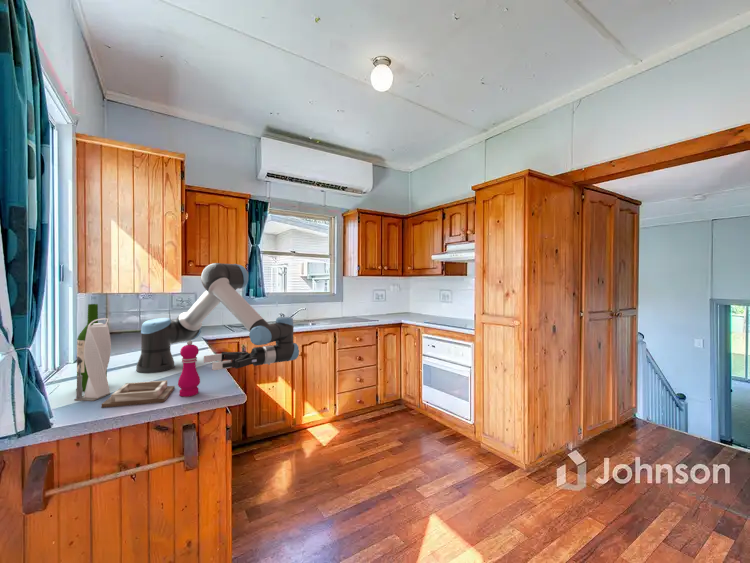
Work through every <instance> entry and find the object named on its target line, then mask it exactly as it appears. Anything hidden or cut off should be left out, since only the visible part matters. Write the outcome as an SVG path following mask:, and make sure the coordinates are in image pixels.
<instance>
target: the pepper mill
mask: <svg viewBox="0 0 750 563" xmlns="http://www.w3.org/2000/svg"><path fill="white" fill-rule="evenodd" d="M179 352H180V353H179V354H180V357H182V358H181V363H182V371H181V373H180V376H179V378H178V381H177V386H178V387H179V388H180V390H179V392H178V394H179V397H183V398H185V397H193V396H196V395H198V394H199V390H200V389H199V387H198V386H199V385H200V384H201V377H200V375H199V373H198V371H197V367H196V366H197V365H196V363H197V361H198V357H197V356H198V354H199V353H200V350H199V348H198V346H197V345H195V344H193V340H189V341H186V345H184V346H182V347H181V349H180V351H179Z"/></svg>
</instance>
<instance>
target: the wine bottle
mask: <svg viewBox="0 0 750 563" xmlns="http://www.w3.org/2000/svg"><path fill="white" fill-rule="evenodd" d="M96 319H99V305H98V303H88V304H87V323H86V325H85V327H84V328H83V329H82V331H80V333H79V334H78V337H77V338H76V339H77V340H76V341H77V342H76V343H77V344H76V377H77V376H78V369H79V364H80V368H81V375H82V388H83V391H82V392H85V390H86V385H87V381H88V374H87V370H86V365H85V359H84V345H85V338H86V333H87V328H88V325H89V324H90V323H91V322H92V321H94V320H96ZM94 323H99V320H97V321H95V322H93V323H92V324H91V325H93V324H94ZM91 325H90V326H91ZM106 377H107V378H108V369H107V370H106Z"/></svg>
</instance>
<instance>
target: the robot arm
mask: <svg viewBox="0 0 750 563" xmlns="http://www.w3.org/2000/svg"><path fill="white" fill-rule="evenodd" d="M200 279H201V284H202V286H203V288H204V289H205V291H203V293H202V294H201V295H200V297H198V299H197V300H196V301H195V302H194V303H193V304H192V305H191V307H190V308H189V309H187V311H184V312H181V313H180V314H179V315H178V316H177V317H176V318H175V319H171V318H169V317H158V318H152V319H148V320H146V321H144V322H143V323H142V324H141V329H140V335H141V336H140V337H141V339H140V344H141V345H140V346H141V347H140V352H141V353H140V356H139V359H138V361H137V364H136V372H138V373H147V374H149V373H160V372H164V371H169V370H171V369H174V368H175V360H174V357H173V355H172V351H171V345H173V344H177V343H182V342H188V341H189V340H190V341H193V340H196V339H197V338H198V337H199V336H200V335H201V333H202V328H203V326H202V325H203V323H202V322H203V321H204V320H206V318H208V316H209V315H210V314H211V312H212V311H213V310H214V309H215V308H217V306H218V305H219V304H220V303H221V304H223V306H224V307H225V308H226V309H227V310H228V311H229V312H230V313H231V314H232V315H233V316H234V317H235V318H236V319H237V320H238V321H239V323H241V325H242V326H244V328H245V329H246V330H247V331H248V332H249V334H248V335H249V337H248V338H250V342H251V343H252V344H253V345H255V347H253V348H251V352H248V351H244V350H243V351H228V352H227V351H222V352H221V353H216V354H209V355H207V354H206V355H203V363H204V364H205V363H207V364H208V363H211V366H212V367H211V368H212V369H211V370H212V371H216V370H217V371H218V370H224V369H231V368H232V369H236V370H237V369H241V368H244V367H247V366H250V365H253V366H254V367H256V366H262V365H268V366H270V365H271V364H275V363H281V362H283V363H284V362H290V361H294V360H297V359H298V358H299V355H300V349H299V345H298V344H297V343H296V342H294V327H295V326H294V318H293V317H290V316H279V317H276V319H275V322H274V323H268V321H267V320H265V318H263V316H262V315H261V314H259V313H258V312H257V311H256V310H255V308H254V307H252V305H251V304H249V303H248V301H247V300H246V299H245V298H244V297H243V296H242V295H241V294H240V293H239V292H238V291H237V290H238V289H239V290H240V289H243V288H245V287H246V286H247V285H248V282H249V273H248V270H247V269H246V268H245V267H244V266H243V265H241V264H237V263H220V262H214V263H211V264H208V265H206V266H205V267H204V268H203V270H202V272H201V275H200ZM274 342H275V345H267V344H270V343H274ZM264 345H265V346H264ZM256 346H257V347H256Z"/></svg>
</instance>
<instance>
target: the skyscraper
mask: <svg viewBox="0 0 750 563" xmlns="http://www.w3.org/2000/svg"><path fill="white" fill-rule="evenodd" d="M97 320H98V321H102V320H106V321H105V323H103V322H98V323H94V324H93V325H91V324H92V323H93V322H95V321H97ZM109 320H110V319H109V318H107V317H101V318H98V319H96V320H94V321H92V322H91V323H90V324H89V325H88V328H87V333H86V338H85V345H84V359H85V365H86V370H87V374H88V381H87V385H86V390H85V391H83V388H82V375H81V368H80V364H79V369H78V376H77V375H76V388H75V391H76V392H75V393H76V397H75V398H74V401H78V400H80V401H81V400H83V401H84V402H85V401H86V402H87V401H88V402H95V401H97V400H99V398H100V399H103V398H105V397H107V396H109V395H111V391H110V386H109V381H108V376H107V377H106V370H107V371H108V366H109V364H110V359H111V352H112V349H111V348H112V344H111V342H112V340H111V334H110V333H111V332H110V329H109V324H108V322H109ZM90 325H91V326H90ZM83 392H84V394H83ZM106 395H107V396H106ZM104 396H105V397H104ZM81 402H82V401H81Z"/></svg>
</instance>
